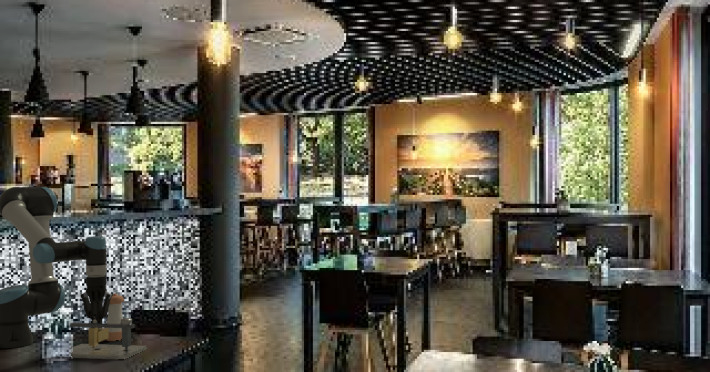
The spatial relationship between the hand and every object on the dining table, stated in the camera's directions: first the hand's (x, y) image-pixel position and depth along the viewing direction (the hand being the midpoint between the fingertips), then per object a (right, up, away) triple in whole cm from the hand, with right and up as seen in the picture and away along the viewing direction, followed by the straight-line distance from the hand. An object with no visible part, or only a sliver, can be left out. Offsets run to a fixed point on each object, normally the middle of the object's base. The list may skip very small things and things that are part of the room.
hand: (96, 336), depth 263 cm
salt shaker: (+1, -6, +18) cm, 19 cm away
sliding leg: (+2, -3, -3) cm, 5 cm away
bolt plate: (+5, -5, -7) cm, 10 cm away
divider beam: (+5, -3, -7) cm, 9 cm away
